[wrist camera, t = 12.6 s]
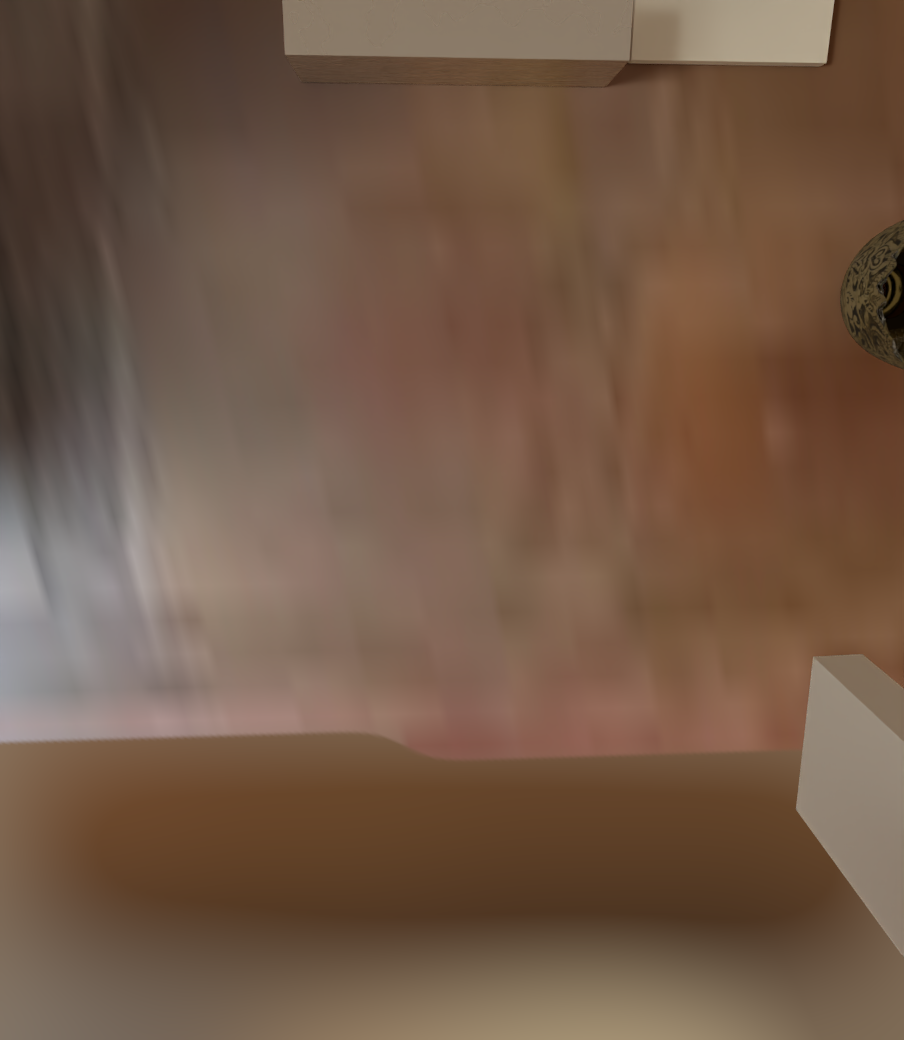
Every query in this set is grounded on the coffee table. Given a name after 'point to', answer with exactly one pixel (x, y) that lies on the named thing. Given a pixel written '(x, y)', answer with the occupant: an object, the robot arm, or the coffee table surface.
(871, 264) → the cup
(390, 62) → the vise
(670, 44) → the pad
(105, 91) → the coffee table surface
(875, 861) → the robot arm
